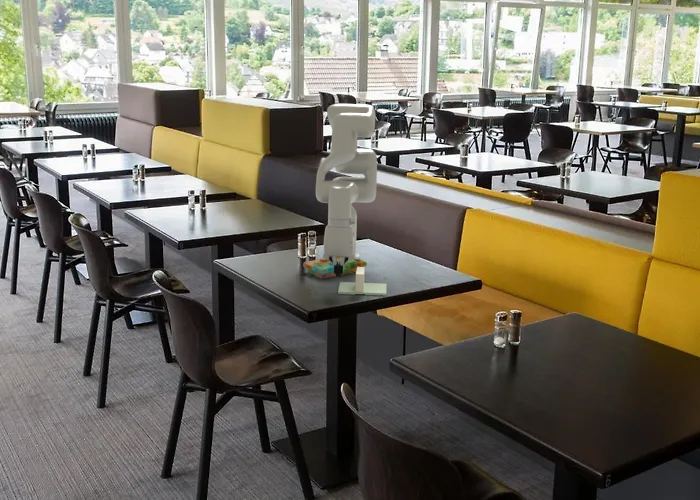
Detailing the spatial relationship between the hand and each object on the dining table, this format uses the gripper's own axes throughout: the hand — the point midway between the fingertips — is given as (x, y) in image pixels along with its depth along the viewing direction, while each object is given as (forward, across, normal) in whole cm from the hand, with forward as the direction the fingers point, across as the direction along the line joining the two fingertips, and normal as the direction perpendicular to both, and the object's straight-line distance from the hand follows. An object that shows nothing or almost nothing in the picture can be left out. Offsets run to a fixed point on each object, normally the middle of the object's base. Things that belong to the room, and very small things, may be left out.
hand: (338, 275), depth 266 cm
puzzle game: (+5, +3, -21) cm, 22 cm away
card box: (+4, -7, 0) cm, 8 cm away
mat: (+5, -8, 0) cm, 9 cm away
